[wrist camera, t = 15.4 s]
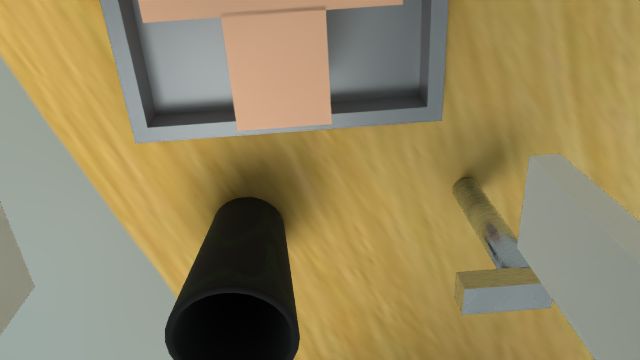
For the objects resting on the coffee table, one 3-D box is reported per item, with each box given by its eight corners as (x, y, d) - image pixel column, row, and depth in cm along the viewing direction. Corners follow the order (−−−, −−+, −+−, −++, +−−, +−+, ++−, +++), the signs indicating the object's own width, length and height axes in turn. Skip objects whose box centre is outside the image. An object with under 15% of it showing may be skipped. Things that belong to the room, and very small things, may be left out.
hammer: (477, 199, 39) (550, 309, 28) (413, 204, 39) (461, 316, 28) (479, 176, 38) (556, 280, 27) (414, 181, 38) (464, 288, 27)
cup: (189, 191, 38) (148, 297, 27) (289, 178, 38) (288, 279, 27) (211, 273, 41) (183, 395, 31) (303, 261, 41) (307, 379, 30)
